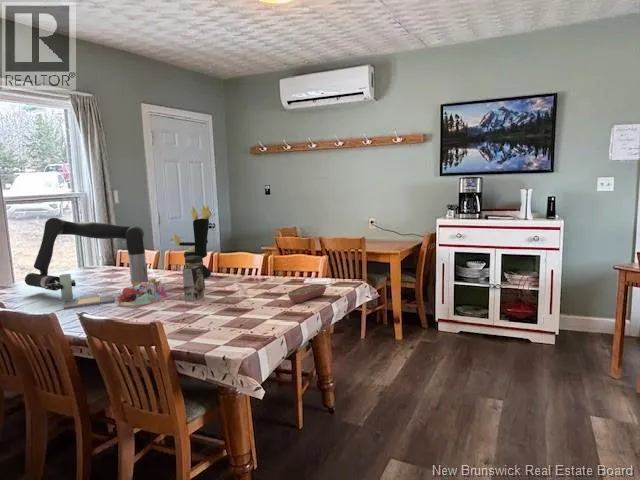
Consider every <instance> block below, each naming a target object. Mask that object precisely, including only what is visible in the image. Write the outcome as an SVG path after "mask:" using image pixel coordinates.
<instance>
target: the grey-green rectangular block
mask: <svg viewBox="0 0 640 480" xmlns="http://www.w3.org/2000/svg"><path fill="white" fill-rule="evenodd" d="M58 277H60V285H63V289H60V292H61V301H62V302H63V301H64V302H65V301H72V300H73V299H74V294H73V286H72V284H71V279H72V278H71V277H72V276H71V273H63V274H59V276H58Z"/></svg>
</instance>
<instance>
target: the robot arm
mask: <svg viewBox="0 0 640 480" xmlns="http://www.w3.org/2000/svg"><path fill="white" fill-rule="evenodd" d="M61 235H62V236H63V235H64V236H65V235H69V236H70V235H71V236H78V237H79V236H80V237H85V238H89V239H99V240H102V239H103V240H107V239H108V240H109V239H111V240H112V239H124V240H125V242H126V250H127V254H128V255H127V257H128V263H129V264H128V266H129V275H130V283H131V284H133V283H134V282H139V283H141V282H149V277H148V267H147V260H146V251H145V250H146V249H145V246H144V236H145V231H144V229H143V228H141V227H140V226H136V225H133V226H132V225H131V226H126V225H125V226H122V225H116V224H112V223H111V224H110V223H103V222H96V221H82V222H80V221H79V222H75V221H68V220H63V219H60V218H59V217H50V218H48V219H47V220H46V221H45V224H44V230H43V236H42V240H41V244H40V246H39V247H40V248H39V250H38V252H37V255H36V259H35V261H34V264H33V268H34V269H36V270H38V271H39V272H40V274H39V273H34V272H30V273H28V274H26V276H25V277H24V283H25V284H26V285H27V286H29V287H37V288H41V289H45V290H50V291H54V292H55V291H59V290H61V289H63V285H60V277H59V276H57V275H49V274H48V273H49V267H50V264H51V261H52V258H53V252H54V246H55V242H56V239H57V237H58V236H61ZM71 284H72V288H74V287H76V286H77V283H76V279H72V278H71Z"/></svg>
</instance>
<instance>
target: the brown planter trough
mask: <svg viewBox="0 0 640 480" xmlns="http://www.w3.org/2000/svg"><path fill="white" fill-rule="evenodd" d="M326 289H327V285H326V284H321V283H320V284H319V283H315V284H309V285H306V286H301V287H298V288H295V289H293V290H290V291H288V298H289V300H290V301H291V302H293V303H294V304H301V303H304V302H305V301H308V300H311V299H314V298H318V297H321V296H322V295H324V293H325V292H326Z"/></svg>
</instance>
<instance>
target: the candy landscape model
mask: <svg viewBox="0 0 640 480" xmlns="http://www.w3.org/2000/svg"><path fill="white" fill-rule="evenodd" d="M160 283H161V282H160V280H158V281H157V280H156V278H151V279H150V281H148V282H141V283H139V282H134V283H132V287H131V288H130V287H124V288H123V289H122V293H121V294H119V296H118V297H117V302H116V304H117V306H120V307H131V306H132V307H136V306H143V305H149V304H150V305H151V304H153V303H157V302H159V299H160V300H161V299H162V298H165V297H167V289H165V283H164V282H162V283H161V286H160Z"/></svg>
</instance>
